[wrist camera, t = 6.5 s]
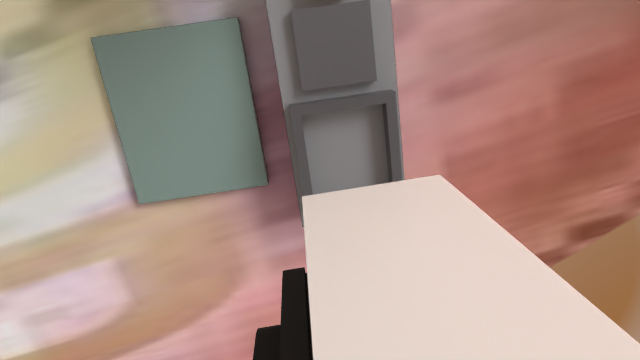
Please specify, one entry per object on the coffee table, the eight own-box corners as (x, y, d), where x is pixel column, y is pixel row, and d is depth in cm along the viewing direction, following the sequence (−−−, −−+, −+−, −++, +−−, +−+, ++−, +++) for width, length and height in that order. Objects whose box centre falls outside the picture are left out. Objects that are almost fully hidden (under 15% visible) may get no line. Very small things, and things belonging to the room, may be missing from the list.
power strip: (375, -46, 25) (391, -64, 21) (395, 196, 30) (411, 218, 26) (262, -31, 25) (257, -46, 21) (301, 210, 30) (302, 235, 26)
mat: (238, 17, 26) (237, 17, 25) (268, 182, 29) (268, 184, 29) (95, 38, 26) (90, 37, 25) (142, 201, 29) (139, 204, 29)
